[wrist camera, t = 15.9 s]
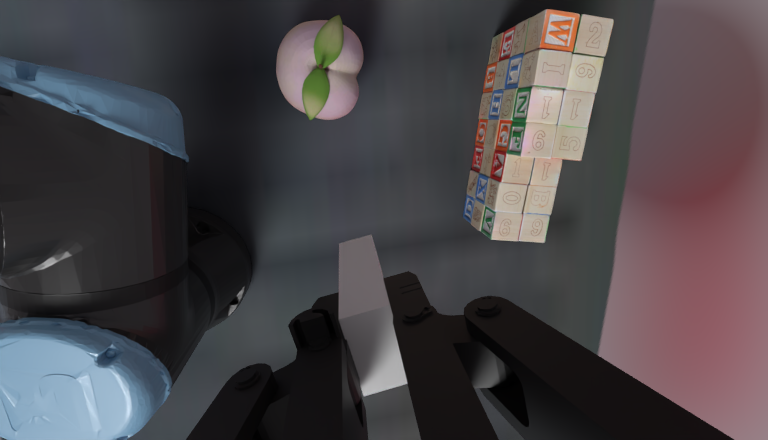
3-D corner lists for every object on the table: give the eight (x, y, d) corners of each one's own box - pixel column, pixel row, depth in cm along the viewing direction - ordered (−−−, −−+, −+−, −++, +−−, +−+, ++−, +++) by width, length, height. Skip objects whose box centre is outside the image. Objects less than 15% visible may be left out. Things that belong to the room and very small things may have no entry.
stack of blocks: (507, 220, 50) (560, 254, 38) (461, 217, 49) (500, 250, 37) (543, 43, 44) (617, 17, 32) (491, 35, 43) (548, 6, 31)
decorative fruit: (287, 22, 41) (271, -5, 31) (364, 37, 42) (371, 14, 32) (280, 113, 43) (263, 113, 33) (353, 124, 44) (356, 128, 34)
